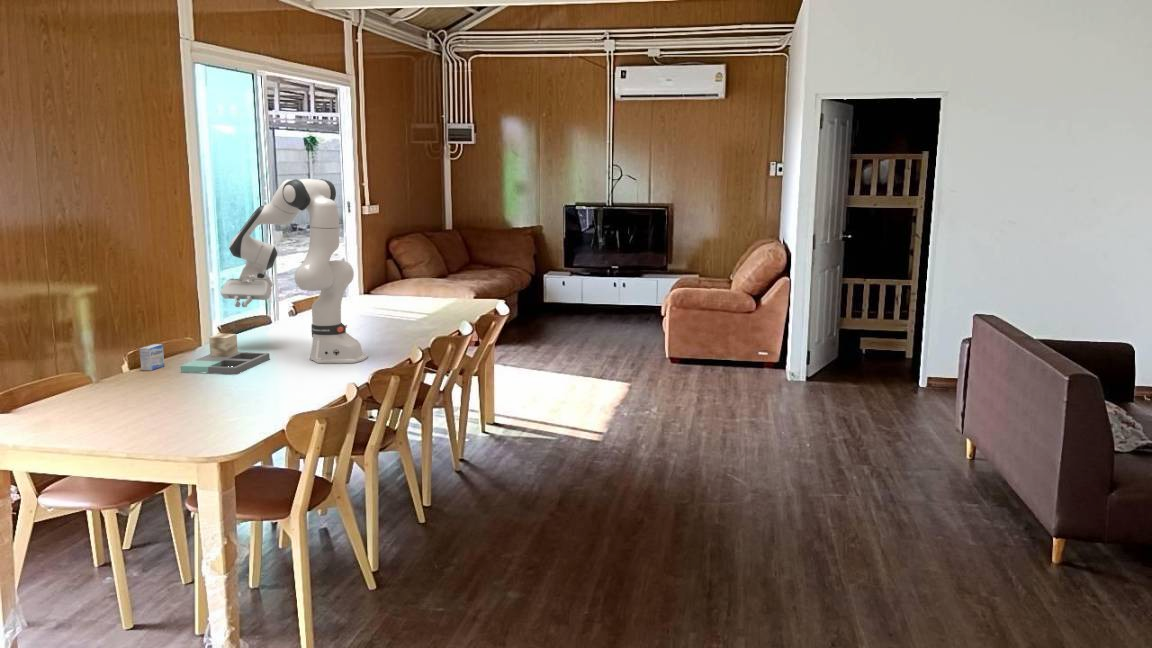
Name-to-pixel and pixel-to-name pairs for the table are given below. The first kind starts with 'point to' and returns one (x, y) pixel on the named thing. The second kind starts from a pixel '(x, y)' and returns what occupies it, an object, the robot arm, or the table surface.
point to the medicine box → (152, 357)
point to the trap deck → (226, 363)
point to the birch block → (223, 345)
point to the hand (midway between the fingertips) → (240, 306)
